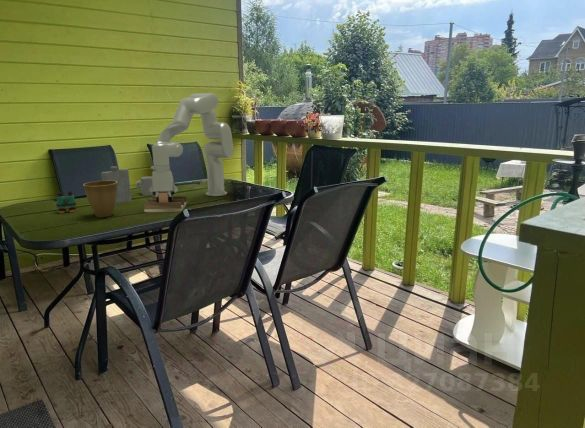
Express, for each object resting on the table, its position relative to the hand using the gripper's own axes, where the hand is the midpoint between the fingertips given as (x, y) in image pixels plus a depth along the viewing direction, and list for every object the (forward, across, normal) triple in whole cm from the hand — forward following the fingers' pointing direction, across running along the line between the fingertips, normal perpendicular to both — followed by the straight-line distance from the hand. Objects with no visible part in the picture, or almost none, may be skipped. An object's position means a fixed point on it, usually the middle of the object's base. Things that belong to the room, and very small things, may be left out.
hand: (164, 203), depth 222 cm
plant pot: (+3, -27, -10) cm, 29 cm away
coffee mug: (+3, -20, +45) cm, 49 cm away
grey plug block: (+2, 0, +8) cm, 8 cm away
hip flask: (+3, -30, +20) cm, 36 cm away
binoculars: (+3, -49, +1) cm, 49 cm away
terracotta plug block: (+1, 0, 0) cm, 1 cm away
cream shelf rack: (+3, 0, +4) cm, 5 cm away
